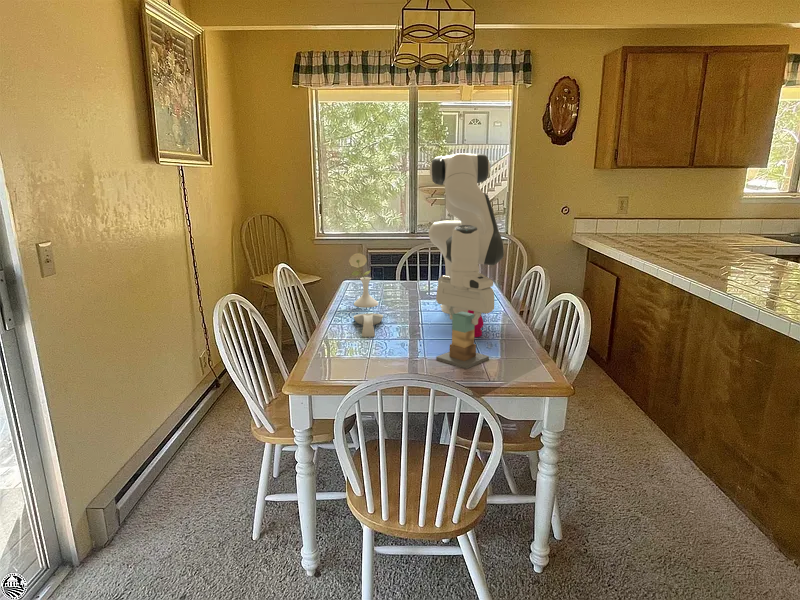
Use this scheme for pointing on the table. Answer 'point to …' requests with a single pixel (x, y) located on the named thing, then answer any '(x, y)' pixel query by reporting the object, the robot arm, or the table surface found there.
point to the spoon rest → (368, 323)
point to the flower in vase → (365, 299)
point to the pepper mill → (477, 326)
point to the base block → (462, 352)
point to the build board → (461, 363)
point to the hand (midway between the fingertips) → (463, 321)
